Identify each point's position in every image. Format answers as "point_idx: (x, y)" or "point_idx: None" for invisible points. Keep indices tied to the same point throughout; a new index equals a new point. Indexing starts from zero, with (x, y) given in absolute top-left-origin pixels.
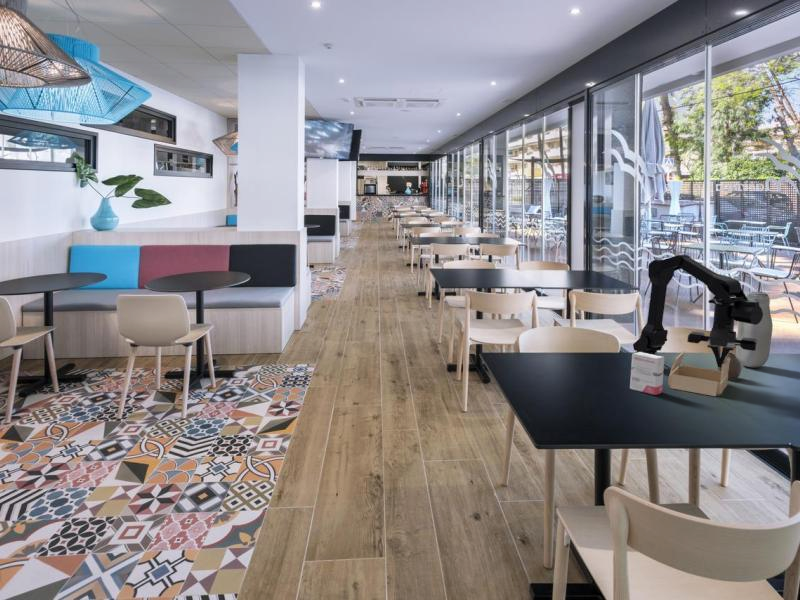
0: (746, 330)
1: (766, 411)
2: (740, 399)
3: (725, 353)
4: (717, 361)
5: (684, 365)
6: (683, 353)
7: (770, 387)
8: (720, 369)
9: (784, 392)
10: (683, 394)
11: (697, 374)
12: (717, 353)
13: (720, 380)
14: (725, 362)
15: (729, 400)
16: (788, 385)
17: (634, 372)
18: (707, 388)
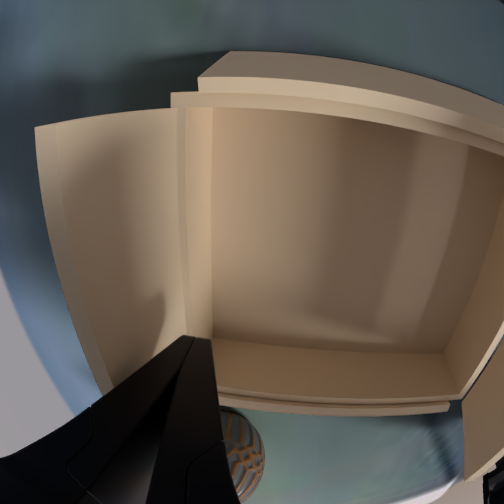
0: None
1: (18, 19)
2: (102, 107)
3: (35, 461)
4: (201, 384)
5: (436, 409)
6: (493, 453)
7: (83, 369)
8: (250, 447)
9: (38, 330)
10: (423, 7)
11: (363, 373)
12: (167, 495)
13: (175, 109)
14: (85, 338)
15: (148, 40)
16: (68, 397)
17: None
18: (290, 62)
